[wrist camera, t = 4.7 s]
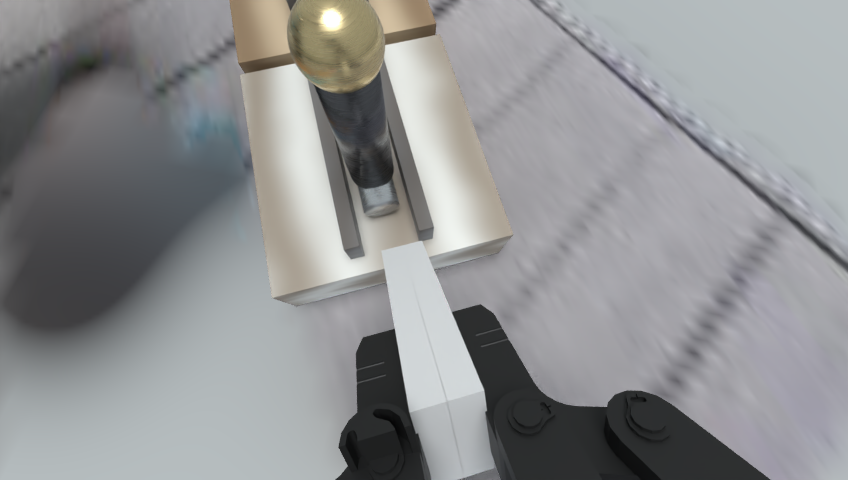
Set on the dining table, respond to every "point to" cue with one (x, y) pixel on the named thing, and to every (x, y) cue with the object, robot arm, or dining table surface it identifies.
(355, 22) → the bolt
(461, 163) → the door and jamb
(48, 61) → the dining table surface
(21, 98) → the dining table surface
